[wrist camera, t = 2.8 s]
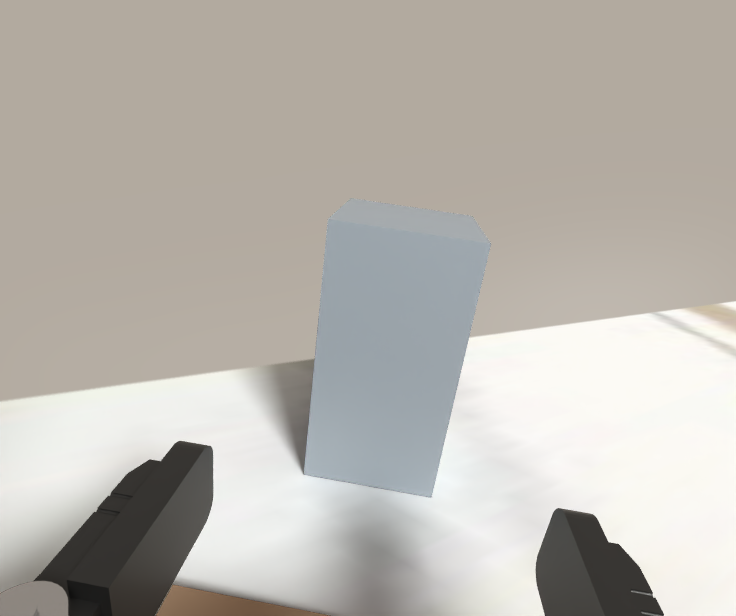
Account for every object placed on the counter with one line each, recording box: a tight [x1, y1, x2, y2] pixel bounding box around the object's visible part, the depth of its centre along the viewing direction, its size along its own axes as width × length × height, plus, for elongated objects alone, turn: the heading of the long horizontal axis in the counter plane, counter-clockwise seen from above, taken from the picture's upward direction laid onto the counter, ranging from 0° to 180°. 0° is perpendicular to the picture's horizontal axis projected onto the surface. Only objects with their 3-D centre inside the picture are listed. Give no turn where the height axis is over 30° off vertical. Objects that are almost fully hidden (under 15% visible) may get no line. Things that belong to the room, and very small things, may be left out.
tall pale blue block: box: [304, 198, 491, 497], centre depth 21 cm, size 6×6×12 cm
